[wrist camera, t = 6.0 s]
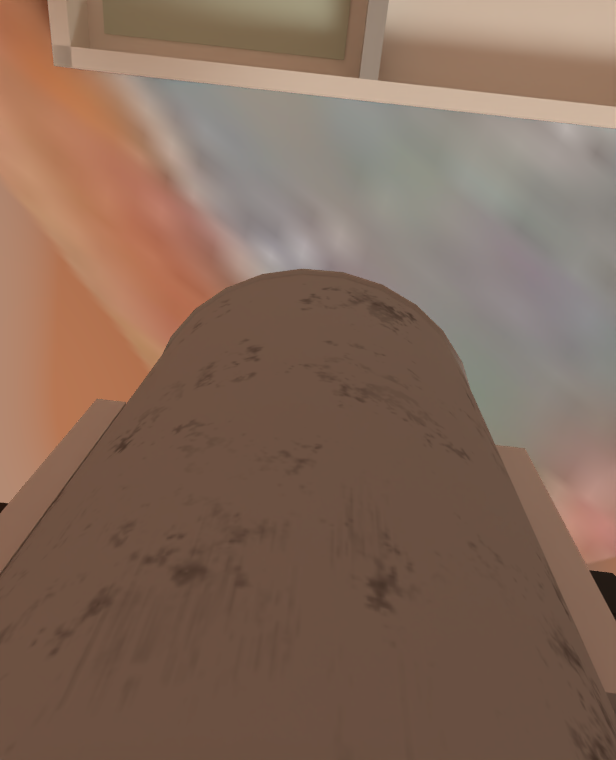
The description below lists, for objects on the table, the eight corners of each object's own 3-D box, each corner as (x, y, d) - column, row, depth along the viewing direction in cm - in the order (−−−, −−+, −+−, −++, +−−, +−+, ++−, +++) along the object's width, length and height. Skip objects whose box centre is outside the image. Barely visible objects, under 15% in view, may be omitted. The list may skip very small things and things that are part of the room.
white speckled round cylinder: (535, 445, 16) (939, 1162, 5) (295, 585, 19) (232, 1210, 8) (330, 189, 13) (260, 590, 2) (88, 404, 16) (-427, 1000, 5)
